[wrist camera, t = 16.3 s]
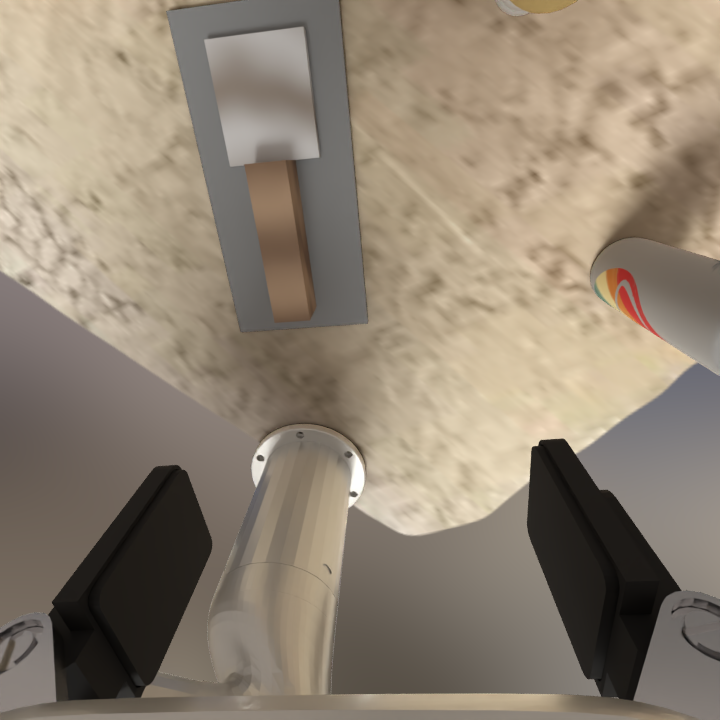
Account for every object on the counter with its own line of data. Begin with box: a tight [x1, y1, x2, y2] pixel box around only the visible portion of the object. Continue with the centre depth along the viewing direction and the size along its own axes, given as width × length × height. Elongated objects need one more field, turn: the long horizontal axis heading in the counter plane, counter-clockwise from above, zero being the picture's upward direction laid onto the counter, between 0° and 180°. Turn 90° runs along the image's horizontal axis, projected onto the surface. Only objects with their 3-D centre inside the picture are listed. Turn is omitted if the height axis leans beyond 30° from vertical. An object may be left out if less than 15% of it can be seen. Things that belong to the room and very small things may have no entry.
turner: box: [204, 27, 321, 323], centre depth 32 cm, size 20×7×4 cm, turn 5°
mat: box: [166, 0, 368, 332], centre depth 34 cm, size 24×12×1 cm, turn 5°
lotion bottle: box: [590, 238, 720, 376], centre depth 26 cm, size 6×6×20 cm
